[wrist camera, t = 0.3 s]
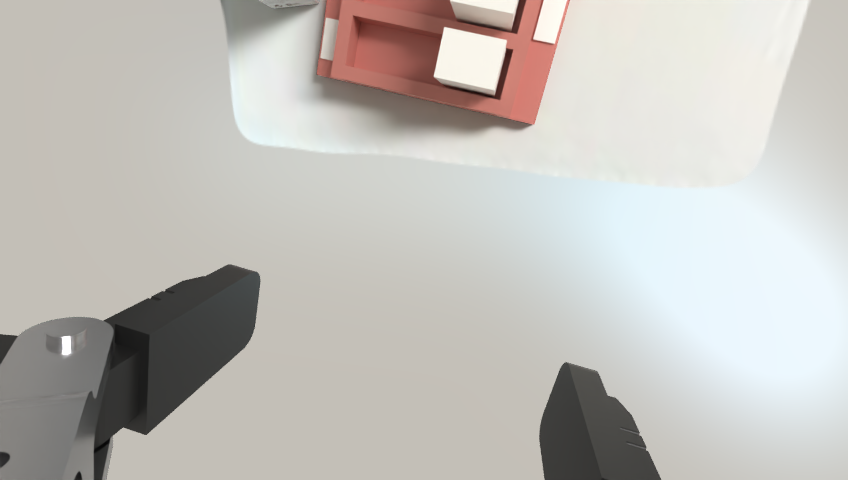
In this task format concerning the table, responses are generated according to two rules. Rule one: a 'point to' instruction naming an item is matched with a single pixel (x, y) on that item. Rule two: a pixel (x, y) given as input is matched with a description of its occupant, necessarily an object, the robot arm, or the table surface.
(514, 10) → the tab
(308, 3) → the skincare box
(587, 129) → the table surface
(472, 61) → the tab
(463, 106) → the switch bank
